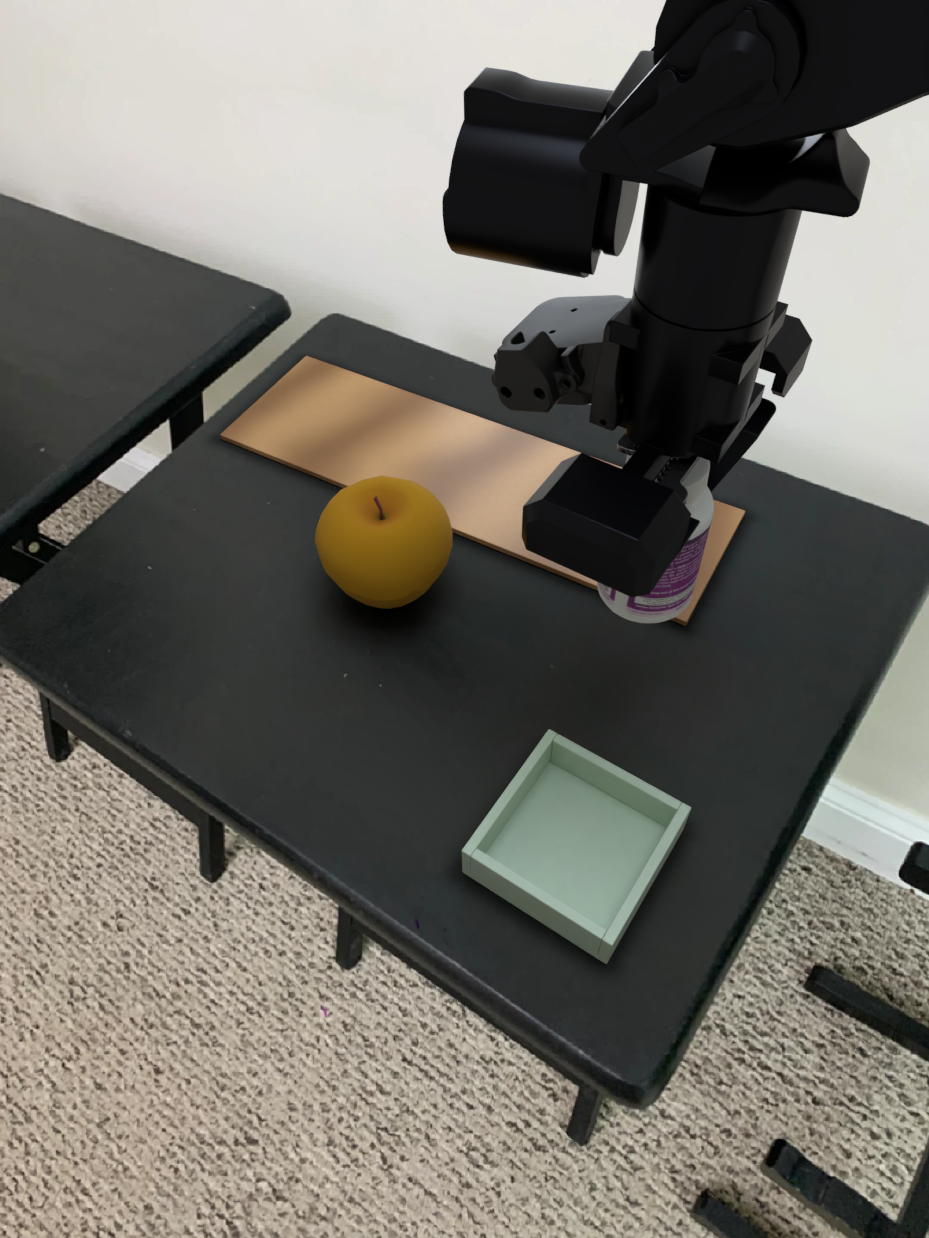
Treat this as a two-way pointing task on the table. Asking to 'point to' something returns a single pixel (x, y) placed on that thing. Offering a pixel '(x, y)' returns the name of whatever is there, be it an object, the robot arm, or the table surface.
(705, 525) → the pill bottle
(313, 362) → the wooden board
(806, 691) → the table surface
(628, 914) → the tray
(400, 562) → the apple
